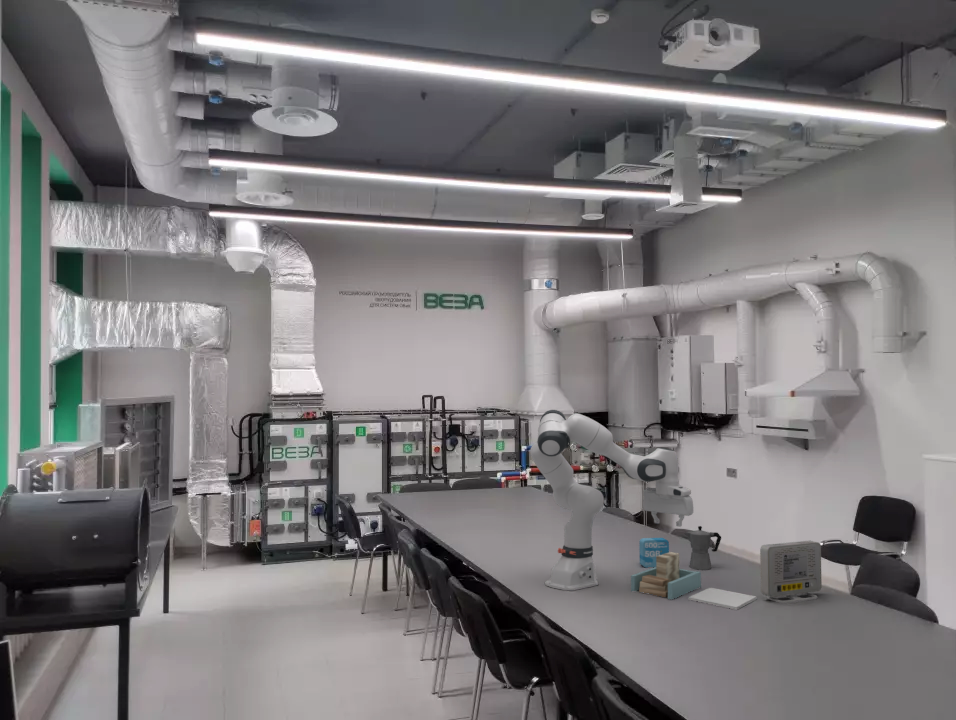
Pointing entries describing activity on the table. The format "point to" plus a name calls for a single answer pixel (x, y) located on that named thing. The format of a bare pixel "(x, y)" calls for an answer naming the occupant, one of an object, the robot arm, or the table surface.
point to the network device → (790, 570)
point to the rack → (672, 582)
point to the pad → (723, 598)
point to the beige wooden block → (668, 566)
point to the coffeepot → (701, 548)
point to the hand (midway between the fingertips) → (667, 524)
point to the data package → (652, 550)
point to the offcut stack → (654, 585)
